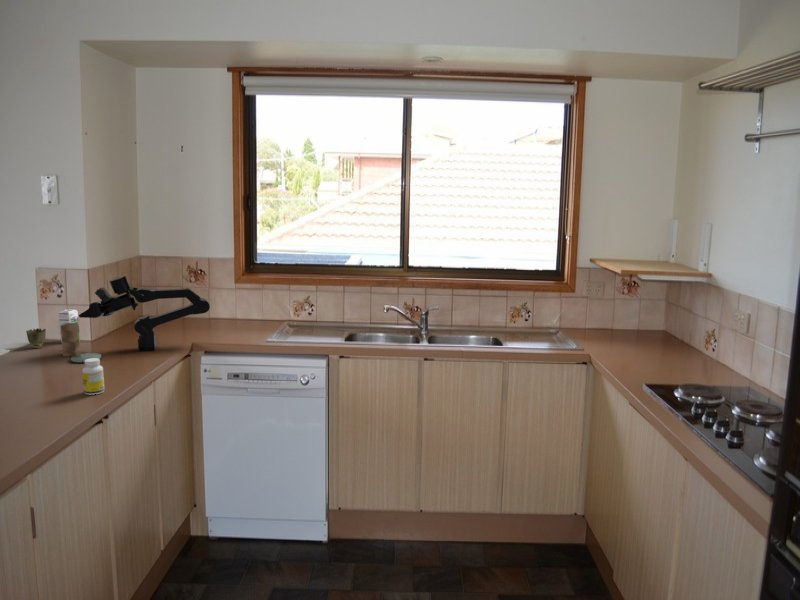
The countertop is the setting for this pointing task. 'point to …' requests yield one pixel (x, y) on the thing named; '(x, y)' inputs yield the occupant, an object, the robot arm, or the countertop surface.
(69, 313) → the syrup box
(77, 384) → the countertop surface
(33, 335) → the cup
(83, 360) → the dish
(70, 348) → the walnut block
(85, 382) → the pill bottle
